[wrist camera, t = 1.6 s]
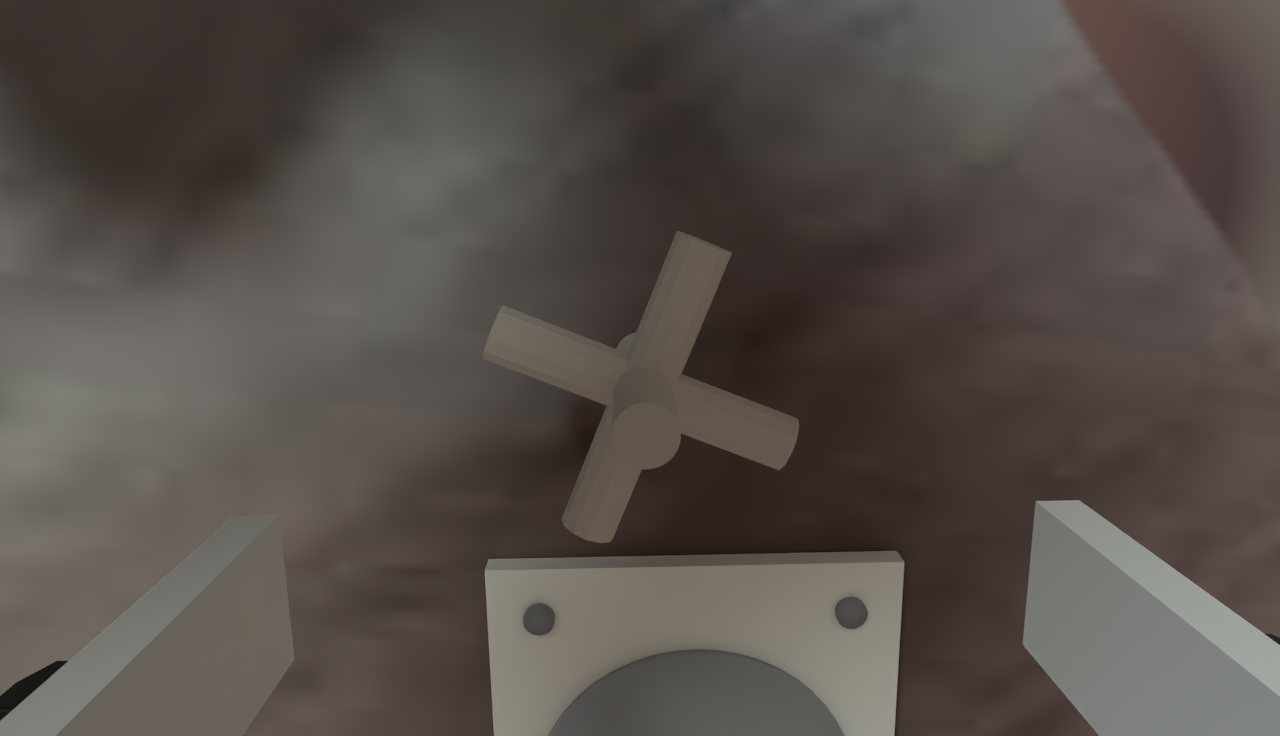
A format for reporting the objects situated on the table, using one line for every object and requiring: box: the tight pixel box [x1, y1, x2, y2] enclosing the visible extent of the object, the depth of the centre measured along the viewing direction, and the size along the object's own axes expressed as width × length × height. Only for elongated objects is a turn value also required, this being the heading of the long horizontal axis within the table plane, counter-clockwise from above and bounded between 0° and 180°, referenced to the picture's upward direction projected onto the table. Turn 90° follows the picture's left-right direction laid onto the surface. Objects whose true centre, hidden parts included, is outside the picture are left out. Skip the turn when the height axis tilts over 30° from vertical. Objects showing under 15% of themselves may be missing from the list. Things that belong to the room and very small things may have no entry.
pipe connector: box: [482, 231, 799, 543], centre depth 28 cm, size 10×10×10 cm
